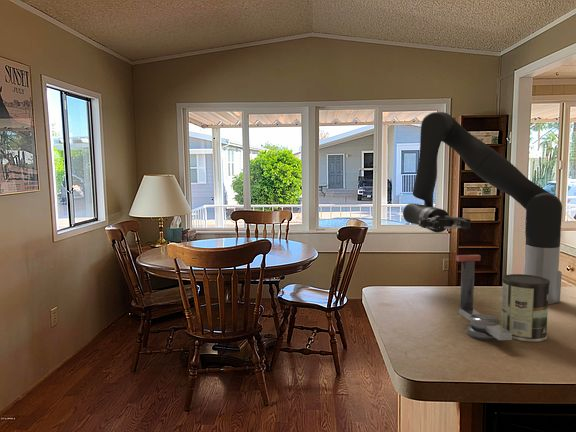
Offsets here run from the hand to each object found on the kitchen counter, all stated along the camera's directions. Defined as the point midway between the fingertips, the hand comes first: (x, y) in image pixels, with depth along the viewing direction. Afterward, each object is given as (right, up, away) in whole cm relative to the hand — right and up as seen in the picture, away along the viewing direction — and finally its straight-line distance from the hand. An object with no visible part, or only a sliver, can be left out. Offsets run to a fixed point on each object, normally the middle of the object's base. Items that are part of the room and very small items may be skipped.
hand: (452, 225), depth 127 cm
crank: (+1, -25, -17) cm, 30 cm away
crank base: (+1, -27, -17) cm, 32 cm away
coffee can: (+11, -27, -17) cm, 34 cm away
